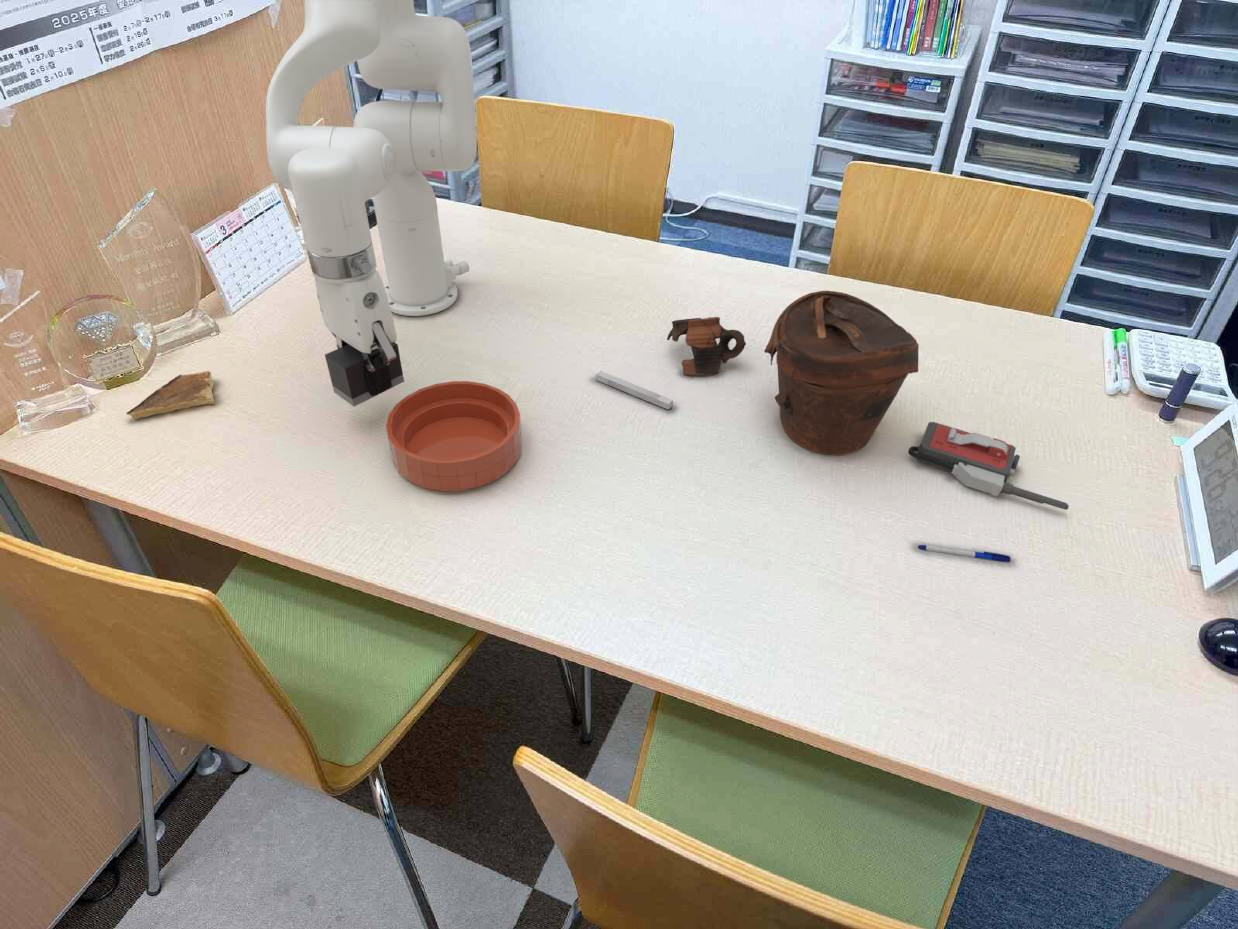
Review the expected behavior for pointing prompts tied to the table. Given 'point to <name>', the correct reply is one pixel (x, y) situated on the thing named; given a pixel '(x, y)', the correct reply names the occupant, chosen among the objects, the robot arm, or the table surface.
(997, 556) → the ballpoint pen
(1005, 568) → the table surface
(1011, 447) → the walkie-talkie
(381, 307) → the robot arm
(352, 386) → the eraser
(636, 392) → the grey bar
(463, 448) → the bowl
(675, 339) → the pottery mug
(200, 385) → the shard
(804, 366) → the case
